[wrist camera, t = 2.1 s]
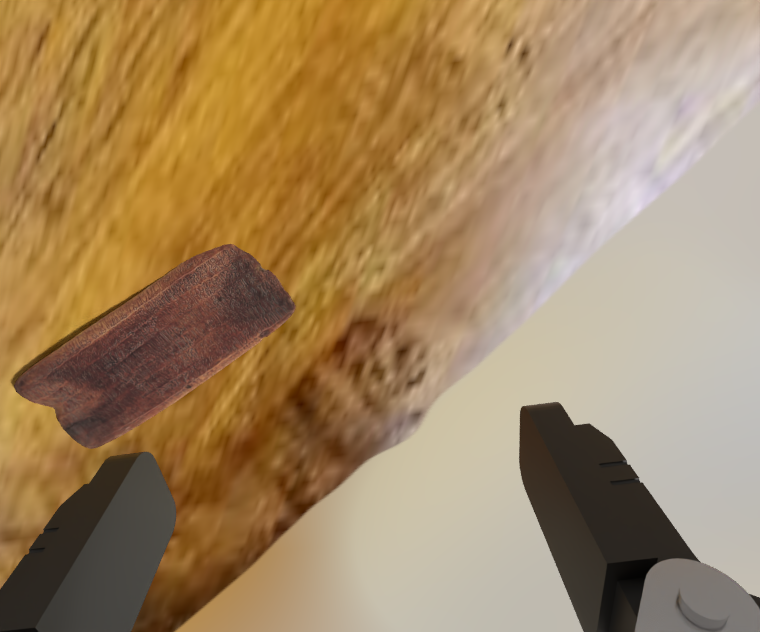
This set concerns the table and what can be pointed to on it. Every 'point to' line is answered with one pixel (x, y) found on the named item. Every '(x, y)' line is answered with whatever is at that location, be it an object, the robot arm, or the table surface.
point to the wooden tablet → (158, 345)
